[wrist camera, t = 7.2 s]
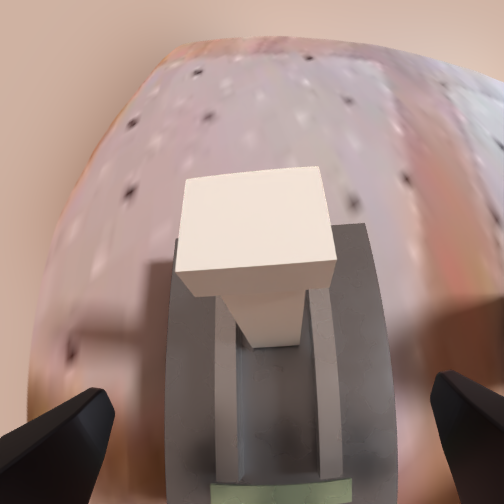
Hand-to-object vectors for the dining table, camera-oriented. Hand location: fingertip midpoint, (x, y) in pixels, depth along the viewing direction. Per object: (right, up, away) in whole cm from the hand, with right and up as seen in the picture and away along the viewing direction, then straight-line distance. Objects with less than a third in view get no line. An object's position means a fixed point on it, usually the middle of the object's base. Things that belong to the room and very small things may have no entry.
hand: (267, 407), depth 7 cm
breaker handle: (+1, 0, +9) cm, 9 cm away
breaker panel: (+1, -4, +10) cm, 11 cm away
